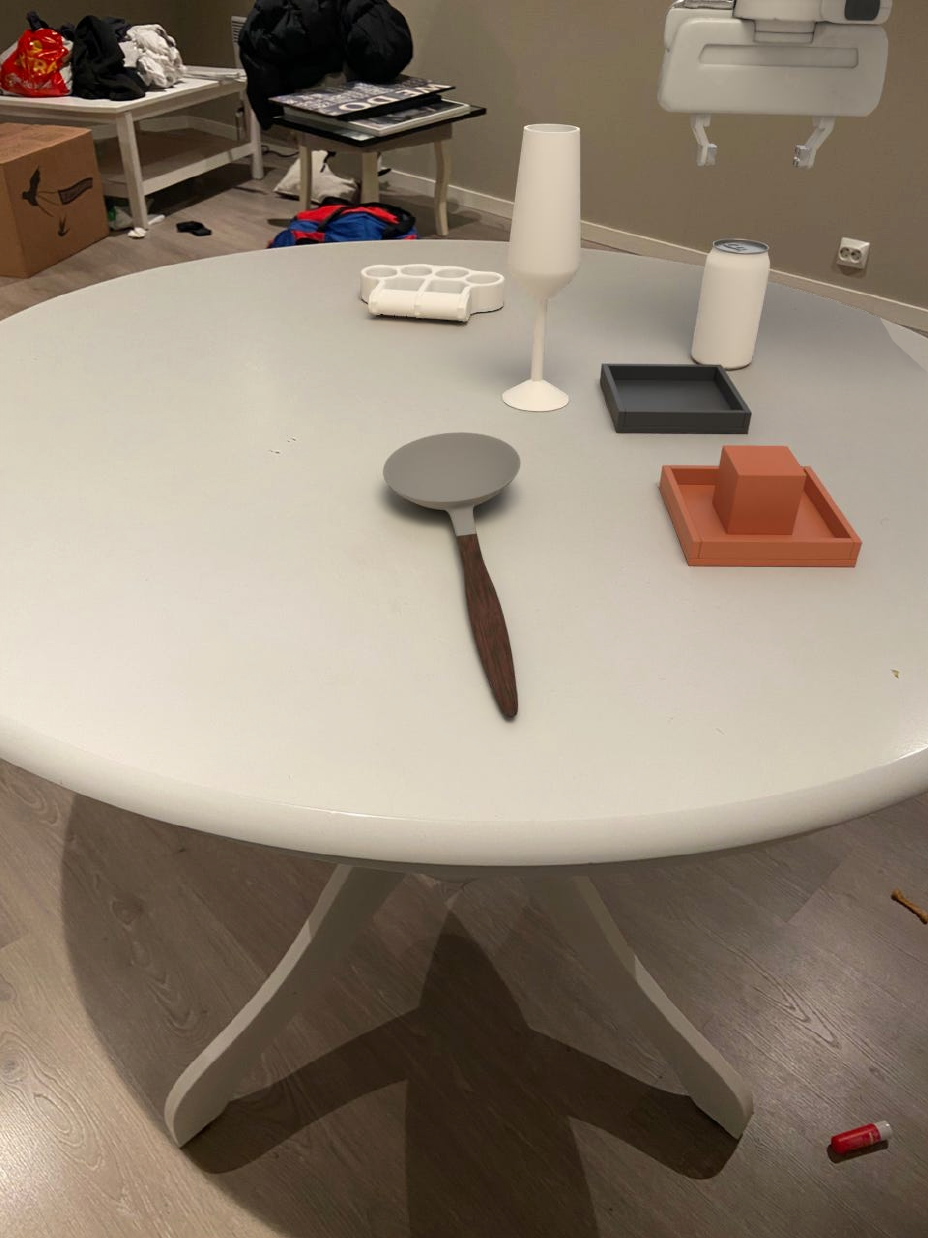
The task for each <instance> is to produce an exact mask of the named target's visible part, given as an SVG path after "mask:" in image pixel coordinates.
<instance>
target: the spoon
mask: <svg viewBox="0 0 928 1238" xmlns="http://www.w3.org/2000/svg"><path fill="white" fill-rule="evenodd" d="M520 468H521V456H520V454H519V453H518V451H517V450H516V449H515V448H514V447H513V446H512V445H511V444H509V443H508V442H507V441H504V440H502V439H501V438H497V437H495V436H492V435H487V434H482V433H475V432H462V431H461V432H444V433H438V434H431V435H428V436H424V437H421V438H418V439H416V440H412V441H410V442H408V443H406V444H404V445H401V447H399V448H397V449H396V450H395V451H393V452H392V454H390V456H389V457H388V458H387V459H386V460H385V462H384V465H383V469H382V476H383V478H384V481H385V483H386V484H387V486H389V487H390V489H391V490H393V491H394V492H396V494H398V496H399V495H400V497H402V498H404V499H406V500H407V501H409V502H411V503H414V504H416V505H419V506H422V507H425V508H428V509H433V510H440V511H446V512H447V514H448V516H449V517H450V519H451V523H452V527H453V530H454V533H455V538H456V542H457V546H458V549H459V552H460V558H461V564H462V569H463V580H464V581H463V583H464V591H465V599H466V605H467V610H468V616H469V620H470V624H471V628H472V633H473V636H474V639H475V644H476V646H477V651H478V653H479V657H480V659H481V662H482V665H483V668H484V670H485V673H486V676H487V678H488V681H489V684H490V686H491V688H492V691H493V694H494V696H495V699H496V701H497V703H498V705H499V708H500V710H501V711H502V713H503V714H504V715H505V716H506V717H508V718H514V717H515V716H517V715H518V712H519V697H518V687H517V678H516V670H515V664H514V657H513V651H512V645H511V640H510V636H509V631H508V628H507V623H506V620H505V619H506V618H505V616H504V615H505V614H504V612H503V608H502V605H501V602H500V598H499V596H498V593H497V590H496V587H495V585H494V583H493V581H492V578H491V576H490V573H489V571H488V568H487V565H486V563H485V560H484V557H483V554H482V550H481V545H480V541H479V537H478V532H477V528H476V524H475V518H474V508H475V507H476V506H478V505H480V504H484V503H485V502H487V501H489V500H490V499H492V498H494V497H495V496H497V495H498V494H500V493H501V492H502V491H504V490H505V489H506V488H508V486H509V485H510V484H511V483H512V482H513V481H514V479H515V478H516V477H517V475H518V474H519V471H520V470H521V469H520Z"/></svg>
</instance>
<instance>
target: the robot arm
mask: <svg viewBox="0 0 928 1238" xmlns="http://www.w3.org/2000/svg"><path fill="white" fill-rule="evenodd" d="M681 5H682V7H683V8H681V7H679V6H681ZM892 6H893V0H676V1H674V2H673V3H672V4H671V5H670V6H669V8H668V9H667V10H666V13H665V15H664V21H663V31H662V43H663V46H664V48H665V51H664V54H663V58H662V61H661V65H660V71H659V75H658V81H657V87H656V94H655V96H656V100H657V103H658V104H659V105H660V107H661V109H663V110H664V111H665V112H667V113H677V114H680V113H681V114H691V115H690V122H689V125H690V126H691V129H692V132H693V135H694V137H695V140H696V142H697V143H696V144H698V147H697V153H696V154H697V155H696V165H697V166H698V167H715V166H716V162H717V158H716V156H717V155H718V150H719V147H718V146H717V145H716V144H715V143H710V142H709V140H708V137H707V134H706V131H705V128H704V127H709V126H710V125H711V121H712V114H719V115H720V114H721V115H723V114H725V115H763V116H764V115H765V116H766V115H767V116H809V117H810V116H812V117H813V118H812V123H811V125H812V126H813V127H815V129H814V130H813V132H812V134H811V135H810V137H809V138H808V139H807V140H806V142H805V143H804V145H795V149H794V155H795V156H794V157H793V159H792V167H794V168H795V169H803V170H804V169H805V170H806V169H808V170H811V169H812V168H813V167H814V164H815V158H816V154H817V150H818V149H820V147H821V146H822V144H823V143H824V142H825V141H826V139H827V138H828V137H829V136H830V135H831V133H832V132H833V130H834V127H835V122H836V119H837V117H857V118H866V117H868V116H869V115H870V114H871V113H872V112H873V111H874V110H875V109H876V108H877V107H878V106H879V103H880V99H881V96H882V93H883V88H884V82H885V78H886V72H887V65H888V56H889V39H888V35H887V32H886V31H885V29H884V28H883V27H881V26H880V25H881V24H884V23H885V22H887V20H888V19H889V17H890V14H891V11H892ZM678 7H679V8H678Z"/></svg>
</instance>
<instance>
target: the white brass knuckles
mask: <svg viewBox="0 0 928 1238" xmlns="http://www.w3.org/2000/svg"><path fill="white" fill-rule="evenodd" d="M359 274H360V275H359V276H360V295H361V294H362V295H364V296H366V297H368V298H369V302H368V303H367V305H368V306H367V309H368V312H369V313H370V314H372V315H373V316H375V315H379V314H383V315H382V316H394V315H395V316H396V317H406V316H407V318H416V319H417V318H422V319H431V320H432V319H433V320H445V321H446V320H448V321H459V322H460V321H463V322H462V323H465V322H468V321H469V320H470V318H469V317H471V315H470V314H471V311H473V310H476V309H486V308H492V307H495V306H498V305H500V304H501V303H503V301H504V302H505V284H506V283H505V282H506V279H505V276H503V275H502V274H501V273H498V272H495V271H481V270H473V269H469V268H467V267H463V266H456V265H433V264H427V263H411V264H403V265H389V264H373V265H370V266H366V267H364V268H362V269H361V271H360V273H359ZM468 319H469V320H468Z"/></svg>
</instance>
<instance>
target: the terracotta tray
mask: <svg viewBox="0 0 928 1238" xmlns="http://www.w3.org/2000/svg"><path fill="white" fill-rule="evenodd" d="M800 466H801V467H802V469H803V470H804V472H805V473H806V475H807V476H806V480H805V484H804V488H803V492H802V496H801V500H800V504H799V509H798V513H797V517H796V521H795V525H794V529H793V533H792V534H727V533H726V531H725V529H724V527H723V524H722V522H721V520H720V518H719V516H718V514H717V512H716V509H715V507H714V505H713V503H712V501H713V496H714V490H715V485H716V480H717V474H718V469H719V464H718V465H717V464H716V465H715V464H714V465H709V464H707V465H705V464H704V465H703V464H701V465H699V464H681V465H680V464H670V465H669V464H662V465H661V472H660V478H659V481H660V482H659V486H658V488H659V491H660V493H661V496H662V500H663V501H664V504H665V506H666V509H667V511H668V515H669V517H670V520H671V523H672V525H673V528H674V531H675V533H676V536H677V538H678V540H679V543H680V546H681V548H682V549H681V550H682V551H683V554H684V556H685V560H686V561H687V565H688V566H689V567H690V566H691V567H692V566H693V567H698V566H699V567H833V568H835V567H839V568H840V567H841V568H842V567H843V568H845V567H846V568H850V567H852V568H853V567H856V565H857V561H858V558H859V555H860V552H861V548H862V545H863V541H862V539H861V538H860V536H859V535H858V534H857V532H856V531H855V529H854V528H853V526H852V525H851V523H850V522H849V520H848V519H847V518H846V516H845V515H844V513H843V512H842V511H841V509H840V508H839V506H838V505H837V503H836V501H835V500H834V499H833V497H832V495H831V494H830V492H828V490H827V488H826V487H825V485H824V484H823V483H822V481H821V480H820V478H819V477H818V475H817V474H816V472H815V471H814V469H813V468H812V467H811V466H810V465H800Z"/></svg>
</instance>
